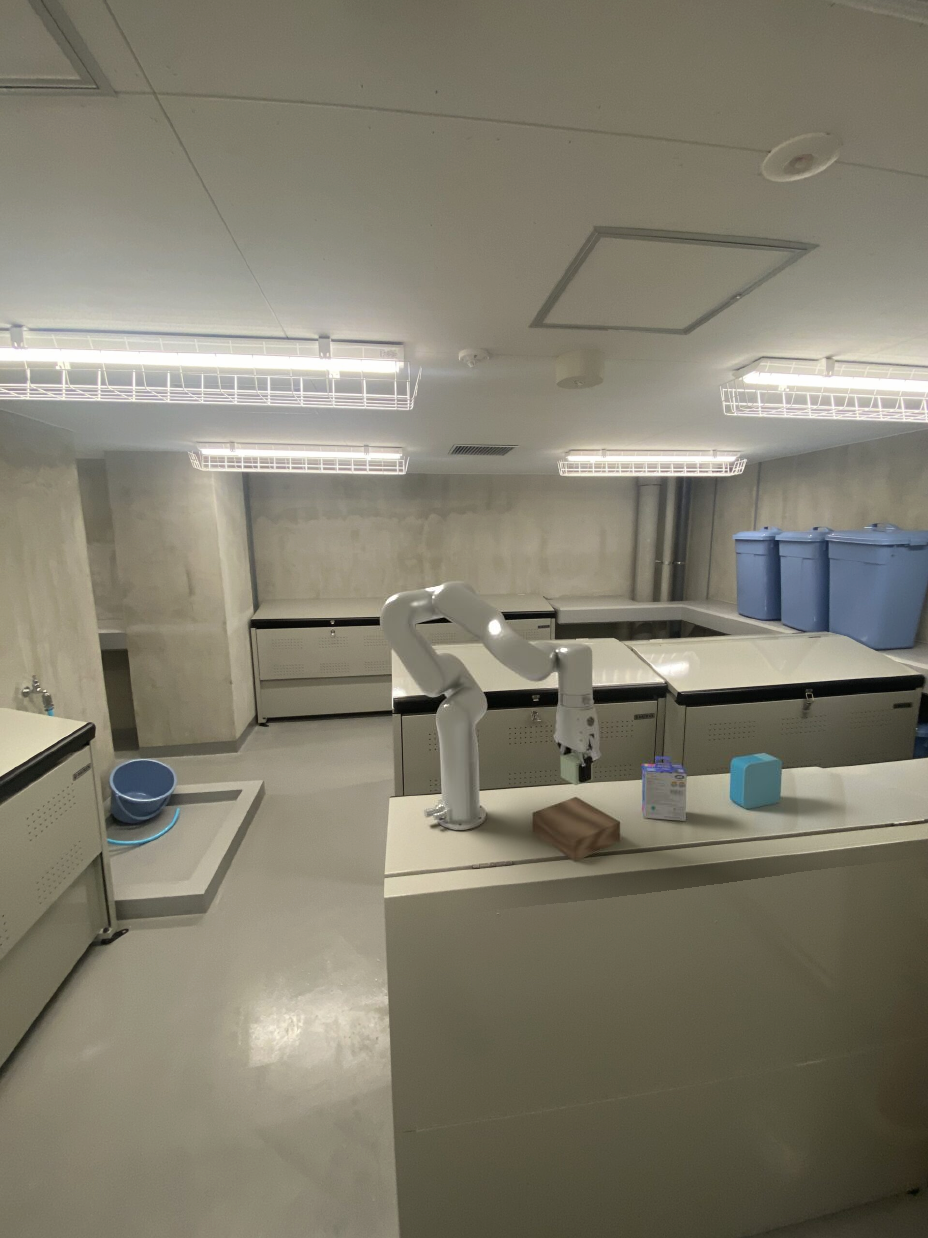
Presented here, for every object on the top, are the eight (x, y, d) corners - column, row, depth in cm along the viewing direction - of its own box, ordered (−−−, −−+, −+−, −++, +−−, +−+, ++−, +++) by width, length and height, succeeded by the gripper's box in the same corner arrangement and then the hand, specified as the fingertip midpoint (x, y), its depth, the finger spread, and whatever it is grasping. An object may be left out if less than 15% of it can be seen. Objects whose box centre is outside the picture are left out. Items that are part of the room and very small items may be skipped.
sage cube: (575, 785, 105) (575, 763, 105) (560, 777, 110) (560, 756, 109) (592, 779, 108) (592, 758, 107) (577, 771, 112) (577, 751, 111)
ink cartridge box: (681, 810, 120) (682, 755, 119) (687, 822, 115) (688, 764, 113) (640, 807, 122) (641, 753, 121) (644, 818, 117) (645, 762, 115)
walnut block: (574, 863, 101) (574, 841, 100) (532, 832, 113) (532, 812, 112) (619, 842, 108) (620, 821, 107) (576, 815, 120) (576, 796, 119)
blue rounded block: (765, 795, 127) (767, 752, 125) (780, 803, 123) (783, 758, 121) (728, 802, 124) (730, 757, 122) (743, 810, 119) (745, 764, 118)
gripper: (616, 705, 101) (616, 786, 103) (563, 688, 116) (564, 760, 118) (589, 711, 97) (590, 795, 99) (538, 693, 112) (540, 767, 114)
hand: (576, 775), depth 109 cm, fingers closed on sage cube, 5 cm apart
